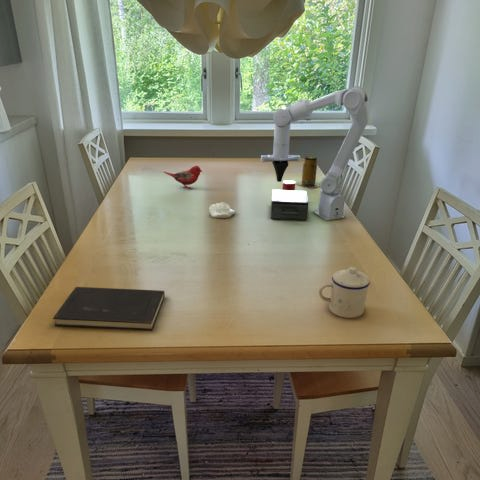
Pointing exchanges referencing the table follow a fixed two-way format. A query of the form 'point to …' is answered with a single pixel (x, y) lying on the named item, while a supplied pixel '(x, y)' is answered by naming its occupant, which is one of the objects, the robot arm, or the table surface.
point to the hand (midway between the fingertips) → (279, 181)
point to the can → (288, 185)
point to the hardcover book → (110, 308)
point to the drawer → (289, 211)
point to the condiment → (309, 172)
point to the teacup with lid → (347, 293)
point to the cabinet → (289, 199)
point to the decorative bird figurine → (187, 176)
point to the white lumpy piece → (221, 210)
